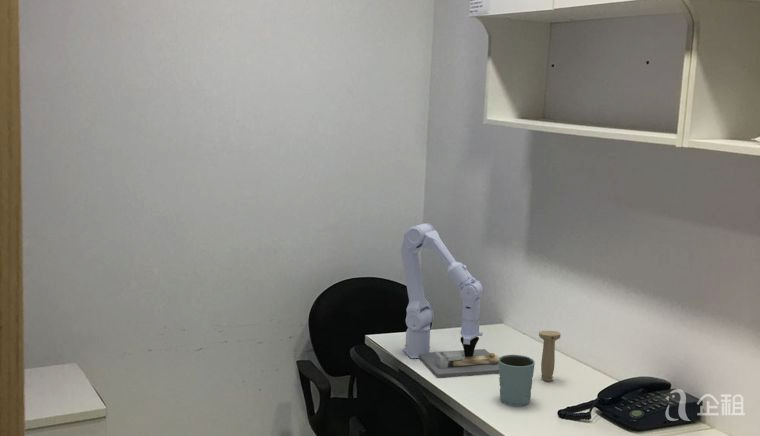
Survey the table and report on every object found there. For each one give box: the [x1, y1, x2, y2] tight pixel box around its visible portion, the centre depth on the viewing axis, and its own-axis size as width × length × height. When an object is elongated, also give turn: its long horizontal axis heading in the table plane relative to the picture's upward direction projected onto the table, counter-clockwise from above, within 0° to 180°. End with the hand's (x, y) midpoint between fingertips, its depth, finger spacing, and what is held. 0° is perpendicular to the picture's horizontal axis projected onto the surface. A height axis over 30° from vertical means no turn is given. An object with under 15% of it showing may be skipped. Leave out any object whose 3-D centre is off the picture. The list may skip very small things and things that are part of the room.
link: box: [450, 352, 500, 366], centre depth 241 cm, size 16×5×2 cm, turn 107°
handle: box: [538, 330, 562, 382], centre depth 230 cm, size 5×6×15 cm
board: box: [418, 348, 499, 379], centre depth 243 cm, size 20×24×1 cm
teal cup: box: [498, 354, 536, 407], centre depth 214 cm, size 10×10×12 cm
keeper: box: [435, 350, 465, 369], centre depth 239 cm, size 8×5×4 cm, turn 105°
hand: (468, 359), depth 243 cm, fingers closed
